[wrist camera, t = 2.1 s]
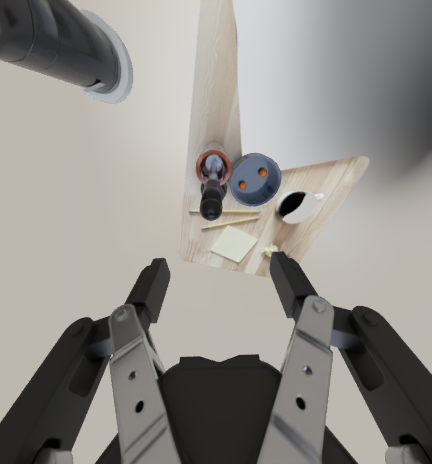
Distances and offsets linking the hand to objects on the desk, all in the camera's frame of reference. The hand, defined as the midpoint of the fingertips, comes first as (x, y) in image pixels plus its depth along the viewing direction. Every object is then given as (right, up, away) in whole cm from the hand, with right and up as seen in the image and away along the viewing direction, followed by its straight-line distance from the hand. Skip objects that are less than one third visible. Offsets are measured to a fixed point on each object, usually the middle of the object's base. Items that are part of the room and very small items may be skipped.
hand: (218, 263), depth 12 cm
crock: (0, +22, +27) cm, 35 cm away
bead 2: (+12, +18, +28) cm, 35 cm away
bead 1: (+7, +15, +30) cm, 34 cm away
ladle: (0, +14, +15) cm, 21 cm away
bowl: (+10, +17, +30) cm, 36 cm away
